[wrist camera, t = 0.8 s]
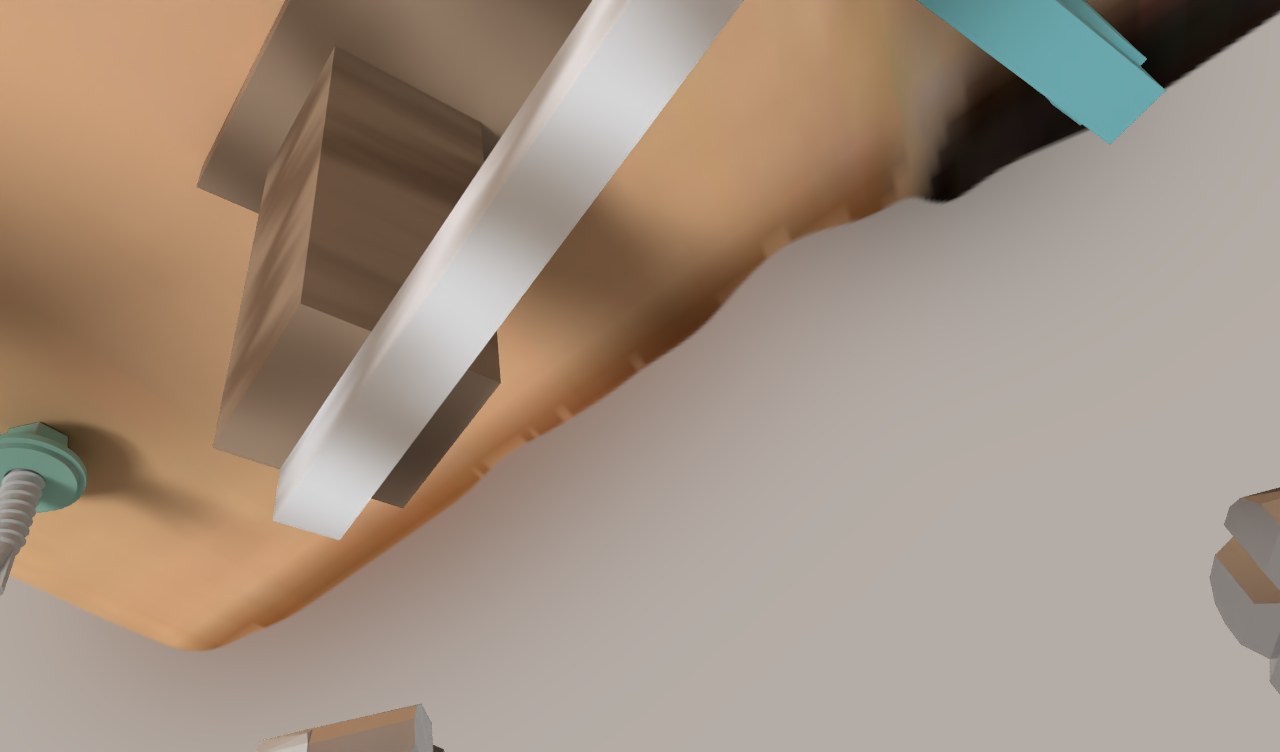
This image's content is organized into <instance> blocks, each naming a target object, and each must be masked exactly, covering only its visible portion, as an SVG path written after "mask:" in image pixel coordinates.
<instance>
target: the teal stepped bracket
mask: <svg viewBox="0 0 1280 752" xmlns="http://www.w3.org/2000/svg"><path fill="white" fill-rule="evenodd" d="M917 1H918V2H920V3H921V4H922V5H924V6H925V7H926V8H928V9H929V10H930V11H932V12H933V13H934V14H936V15H937V16H938V17H940V18H941V19H942V20H944V21H945V22H947V23H948V24H949V25H951V26H952V27H953V28H955V29H956V30H957V31H959V32H960V33H961V34H963V35H964V36H965V37H967V38H968V39H969V40H971V41H972V42H973V43H975V44H976V45H977V46H979V47H980V48H981V49H983V50H984V51H985V52H987V53H988V54H989V55H991V56H992V57H993V58H995V59H996V60H997V61H999V62H1000V63H1001V64H1003V65H1004V66H1005V67H1007V68H1008V69H1009V70H1011V71H1012V72H1013V73H1015V74H1016V75H1017V76H1019V77H1020V78H1021V79H1023V80H1024V81H1025V82H1027V83H1028V84H1029V85H1031V86H1032V87H1033V88H1035V89H1036V90H1037V91H1039V92H1040V93H1042V94H1043V95H1044V96H1046V97H1047V99H1048V100H1049V101H1050V102H1051V103H1052V104H1053V105H1054V106H1055V107H1056V108H1058V109H1059V110H1061V111H1062V112H1063V113H1065V114H1066V115H1067V116H1069V117H1070V118H1071V119H1073V120H1074V121H1075V122H1077V123H1078V124H1079V125H1082V124H1083V125H1084V126H1086V127H1087V128H1088V129H1090V130H1091V131H1092V132H1094V133H1095V134H1097V135H1098V136H1099V137H1100V138H1102V139H1103V140H1104V141H1106V142H1107V143H1108V144H1111V143H1112V142H1113V141H1114V140H1115V139H1116V138H1117V137H1118V136H1119V135H1120V134H1121V133H1122V132H1123V131H1124V130H1125V129H1127V128H1128V127H1129V125H1131V124H1132V123H1133V122H1134V121H1135V120H1136V119H1137V118H1138V117H1139V116H1140V115H1141V114H1142V113H1143V112H1144V111H1145V110H1146V109H1147V108H1148V107H1149V106H1150V105H1151V104H1152V103H1153V102H1154V101H1155V100H1156V99H1157V98H1158V97H1159V96H1160V95H1161V94H1163V93H1164V92H1165V91H1166V90H1165V89H1164V88H1162V87H1161V86H1160V85H1159V84H1158V83H1157V82H1156V81H1155V80H1154V79H1153V78H1152V77H1151V76H1150V75H1149V74H1148V73H1147V72H1146V71H1145V70H1144V69H1143V68H1142V67H1141V65H1142V64H1143V63H1144V62H1145V61H1146V60H1147V59H1146V58H1145V57H1144V56H1143V55H1142V54H1141V53H1140V52H1139V51H1138V50H1137V49H1136V48H1135V47H1133V46H1132V45H1131V44H1130V43H1129V42H1128V41H1127V40H1126V39H1125V38H1124V37H1123V36H1122V35H1121V34H1120V33H1119V32H1118V31H1116V30H1115V29H1114V28H1113V27H1112V26H1111V25H1110V24H1109V23H1108V22H1107V21H1106V20H1105V19H1104V18H1103V17H1102V16H1101V15H1099V14H1098V13H1097V12H1096V11H1095V10H1094V9H1093V8H1092V7H1091V6H1090V5H1089V4H1088V3H1087V2H1086V1H1085V0H917Z"/></svg>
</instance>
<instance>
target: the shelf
mask: <svg viewBox="0 0 1280 752" xmlns="http://www.w3.org/2000/svg"><path fill="white" fill-rule="evenodd" d="M743 1H744V0H285V2H284V4H283V6H282V8H281V10H280V12H279V14H278V16H277V18H276V20H275V22H274V24H273V26H272V28H271V30H270V32H269V34H268V36H267V38H266V40H265V42H264V44H263V46H262V48H261V50H260V52H259V54H258V56H257V58H256V60H255V62H254V64H253V66H252V68H251V70H250V72H249V74H248V76H247V78H246V80H245V82H244V84H243V86H242V88H241V90H240V92H239V94H238V96H237V98H236V100H235V102H234V104H233V106H232V108H231V110H230V112H229V114H228V116H227V118H226V120H225V122H224V124H223V126H222V128H221V130H220V132H219V134H218V136H217V138H216V140H215V142H214V144H213V146H212V148H211V150H210V152H209V154H208V156H207V158H206V160H205V162H204V164H203V166H202V170H201V173H200V177H199V180H198V184H197V187H198V188H200V189H203V190H205V191H207V192H210V193H212V194H214V195H217V196H219V197H221V198H224V199H226V200H228V201H231V202H233V203H235V204H238V205H240V206H242V207H245V208H247V209H249V210H252V211H254V212H256V213H259V217H258V222H257V227H256V232H255V237H254V242H253V247H252V252H251V257H250V262H249V267H248V272H247V277H246V282H245V287H244V292H243V297H242V302H241V307H240V312H239V317H238V322H237V327H236V332H235V337H234V342H233V348H232V353H231V358H230V363H229V368H228V373H227V378H226V383H225V388H224V393H223V398H222V403H221V408H220V413H219V418H218V423H217V428H216V433H215V438H214V443H213V448H215V449H218V450H221V451H224V452H227V453H230V454H233V455H237V456H240V457H243V458H246V459H249V460H252V461H256V462H259V463H262V464H265V465H268V466H271V467H274V468H278V469H280V472H279V479H278V487H277V494H276V502H275V509H274V517H273V521H275V522H278V523H282V524H285V525H288V526H292V527H295V528H299V529H302V530H306V531H309V532H312V533H316V534H319V535H323V536H326V537H329V538H333V539H336V540H340V539H341V538H342V536H343V535H344V534H345V532H346V531H347V530H348V528H349V527H350V526H351V524H352V523H353V522H354V520H355V519H356V518H357V516H358V515H359V514H360V512H361V511H362V510H363V508H364V507H365V506H366V504H367V503H368V502H369V500H370V499H371V498H372V499H375V500H378V501H381V502H385V503H388V504H391V505H394V506H397V507H400V508H404V506H405V505H406V504H407V503H408V501H409V500H410V499H411V497H412V496H413V495H414V494H415V492H416V491H417V490H418V488H419V487H420V486H421V485H422V483H423V482H424V481H425V479H426V478H427V477H428V476H429V474H430V473H431V472H432V470H433V469H434V468H435V467H436V465H437V464H438V463H439V461H440V460H441V459H442V458H443V456H444V455H445V454H446V452H447V451H448V450H449V449H450V447H451V446H452V445H453V443H454V442H455V441H456V440H457V438H458V437H459V436H460V434H461V433H462V432H463V431H464V429H465V428H466V427H467V425H468V424H469V423H470V422H471V420H472V419H473V418H474V416H475V415H476V414H477V413H478V411H479V410H480V409H481V408H482V406H483V405H484V404H485V402H486V401H487V400H488V399H489V397H490V396H491V395H492V393H493V392H494V391H495V390H496V388H497V387H498V386H499V384H500V383H501V381H500V368H499V355H498V342H497V329H498V328H499V327H500V325H501V324H502V323H503V321H504V320H505V319H506V317H507V316H508V315H509V313H510V312H511V311H512V309H513V308H514V307H515V305H516V304H517V303H518V301H519V300H520V299H521V297H522V296H523V295H524V293H525V292H526V291H527V289H528V288H529V287H530V285H531V284H532V283H533V281H534V280H535V279H536V277H537V276H538V275H539V273H540V272H541V271H542V269H543V268H544V267H545V265H546V264H547V263H548V261H549V260H550V259H551V257H552V256H553V255H554V253H555V252H556V251H557V249H558V248H559V247H560V245H561V244H562V243H563V241H564V240H565V239H566V237H567V236H568V235H569V233H570V232H571V231H572V229H573V228H574V227H575V225H576V224H577V223H578V221H579V220H580V219H581V217H582V216H583V215H584V213H585V212H586V211H587V209H588V208H589V207H590V205H591V204H592V203H593V201H594V200H595V199H596V197H597V196H598V195H599V193H600V192H601V191H602V189H603V188H604V187H605V185H606V184H607V183H608V181H609V180H610V178H611V177H612V176H613V174H614V173H615V172H616V170H617V169H618V168H619V166H620V165H621V164H622V162H623V161H624V160H625V158H626V157H627V156H628V154H629V153H630V152H631V150H632V149H633V148H634V146H635V145H636V144H637V142H638V141H639V140H640V138H641V137H642V136H643V134H644V133H645V132H646V130H647V129H648V128H649V126H650V125H651V124H652V122H653V121H654V120H655V118H656V117H657V116H658V114H659V113H660V112H661V110H662V109H663V108H664V106H665V105H666V104H667V102H668V101H669V100H670V98H671V97H672V96H673V94H674V93H675V92H676V90H677V89H678V88H679V86H680V85H681V84H682V82H683V81H684V80H685V78H686V77H687V76H688V74H689V73H690V72H691V70H692V69H693V68H694V66H695V65H696V64H697V62H698V61H699V60H700V58H701V57H702V56H703V54H704V53H705V52H706V50H707V49H708V48H709V46H710V45H711V44H712V42H713V41H714V40H715V38H716V37H717V36H718V34H719V33H720V32H721V30H722V29H723V28H724V26H725V25H726V24H727V22H728V21H729V20H730V18H731V17H732V16H733V14H734V13H735V12H736V10H737V9H738V8H739V6H740V5H741V4H742V2H743Z"/></svg>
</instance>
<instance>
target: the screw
mask: <svg viewBox="0 0 1280 752" xmlns="http://www.w3.org/2000/svg"><path fill="white" fill-rule="evenodd" d="M67 446H68V436H66V435H64V434H62V433H60V432H58V431H56V430H54V429H52V428H50V427H48V426H46V425H44V424H42V423H41V422H37V423H33V424H28V425H23V426H19V427H14V428H9V430H8V432H7V433H5V434H0V595H2V594H3V591H4V589H5V586H6V583H7V580H8V577H9V574H10V571H11V568H12V565H13V562H14V559H15V556H16V555H17V554H18V553H19V551H20V548H21V547H23V546H24V545H25V543H26V539H25V537H26V536H27V535H28V534H29V528H28V527H30V526H31V525H32V523H33V520H32V517H34V516H35V514H36V513H41V512H48V511H54V510H58V509H62V508H64V507H67V506H69V505H71V504H72V503H74V502H75V501H77V500H78V499H79V498H80V497H81V495H82V494H83V492H84V490H85V488H86V484H87V479H88V475H87V470H86V467H85V465H84V463H83V462H82V460H81V459H80V458H79V457H78V456H77V455H76V454H75V453H74V452H73V451H72V450H70V449H69V448H67Z"/></svg>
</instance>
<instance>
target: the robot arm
mask: <svg viewBox="0 0 1280 752" xmlns="http://www.w3.org/2000/svg"><path fill="white" fill-rule="evenodd" d="M1224 525H1225V527H1226V528H1227V529H1228V530H1229V531H1230V533H1231V534H1232V535H1233V537H1232V538H1231V540H1230V541H1229V542H1228V543H1227V544H1226V545H1225V546H1224V547H1223V548H1222V549H1221V550H1220V551H1219V552H1218V553H1217V554H1216V555H1215V557H1214V562H1213V566H1212V570H1211V575H1210V581H1211V586H1212V591H1213V596H1214V600H1215V604H1216V606H1217V608H1218V610H1219V612H1220V614H1221V616H1222V618H1223V620H1224V622H1225V624H1226V625H1227V626H1228V628H1229V629H1230V631H1231V632H1232V633H1233V635H1234V636H1235V637H1236V639H1237V640H1238V641H1239V643H1240V644H1241V645H1243V646H1245V647H1247V648H1250V649H1251V650H1253V651H1255V652H1257V653H1259V654H1261V655H1263V656H1265V657H1267V658H1269V659H1270V682H1271V684H1272V685H1273V686H1274V687H1275V689H1276V690H1277V691H1278V692H1279V694H1280V488H1276V489H1272V490H1269V491H1265V492H1261V493H1257V494H1254V495H1250V496H1246V497H1242V498H1240V499H1239V500H1237V501H1236V502H1235V503H1234V504H1233V505H1232V506H1230V508H1229V511H1228V514H1227V517H1226V520H1225V523H1224ZM432 740H433V739H432V723H431V721H430V719H429V717H428V715H427V713H426V711H425V709H424V707H423V706H422V704H417V705H413V706H409V707H404V708H400V709H395V710H391V711H387V712H382V713H378V714H373V715H369V716H365V717H361V718H356V719H352V720H347V721H343V722H339V723H334V724H330V725H326V726H321V727H317V728H311V729H307V730H303V731H299V732H295V733H290V734H287V735H283V736H278V737H275V738H270V739H266V740H262V741H259V744H258V746H257V749H256V751H255V752H445V751H444V749H442V748H439V747H437V746H435V745H433V741H432Z"/></svg>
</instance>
